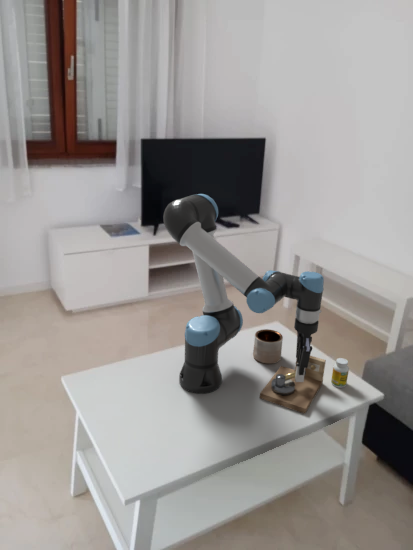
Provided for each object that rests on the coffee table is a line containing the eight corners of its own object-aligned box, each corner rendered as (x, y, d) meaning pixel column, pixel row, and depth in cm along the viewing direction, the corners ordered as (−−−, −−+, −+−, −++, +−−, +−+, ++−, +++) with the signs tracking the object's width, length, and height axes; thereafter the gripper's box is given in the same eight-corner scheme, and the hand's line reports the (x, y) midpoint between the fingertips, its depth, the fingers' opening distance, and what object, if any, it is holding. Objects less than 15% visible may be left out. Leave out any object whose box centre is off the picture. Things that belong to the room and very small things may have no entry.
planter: (282, 365, 181) (284, 343, 177) (254, 364, 181) (255, 342, 177) (278, 350, 191) (281, 329, 187) (251, 349, 191) (253, 328, 187)
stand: (259, 398, 161) (261, 372, 157) (280, 370, 177) (283, 347, 174) (305, 413, 154) (308, 388, 150) (322, 383, 170) (326, 359, 166)
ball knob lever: (280, 398, 158) (282, 384, 155) (266, 386, 164) (267, 371, 162) (311, 388, 164) (313, 374, 162) (296, 376, 170) (298, 362, 168)
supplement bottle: (337, 378, 174) (341, 355, 170) (349, 385, 170) (353, 362, 166) (327, 382, 171) (331, 359, 168) (339, 389, 167) (342, 366, 163)
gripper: (323, 328, 148) (314, 392, 156) (314, 310, 160) (306, 370, 168) (299, 327, 147) (291, 391, 156) (292, 309, 160) (285, 370, 168)
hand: (299, 380), depth 162 cm, fingers closed
